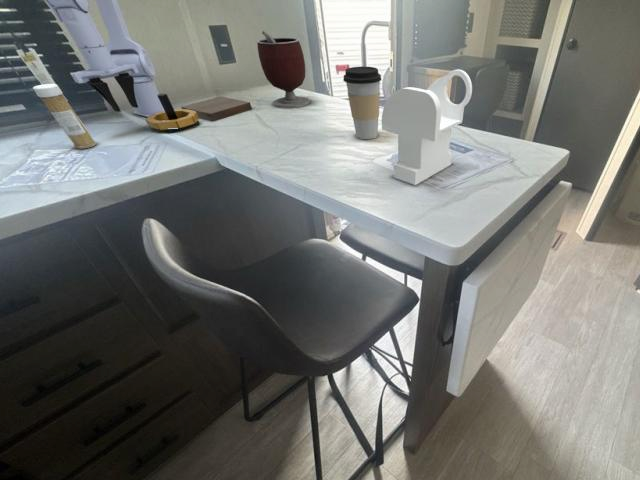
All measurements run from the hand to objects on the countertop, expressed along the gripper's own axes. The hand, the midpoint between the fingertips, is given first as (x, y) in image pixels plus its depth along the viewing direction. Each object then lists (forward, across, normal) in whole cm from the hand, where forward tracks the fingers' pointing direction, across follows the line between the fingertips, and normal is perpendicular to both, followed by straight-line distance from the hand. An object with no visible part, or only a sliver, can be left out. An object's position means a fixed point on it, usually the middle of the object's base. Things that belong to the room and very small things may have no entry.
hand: (126, 109), depth 87 cm
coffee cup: (+6, +30, -60) cm, 67 cm away
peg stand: (+5, +8, -6) cm, 11 cm away
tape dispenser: (+6, +18, -85) cm, 87 cm away
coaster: (+5, +24, -4) cm, 25 cm away
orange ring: (+4, +8, -6) cm, 11 cm away
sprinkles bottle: (+6, -14, -1) cm, 15 cm away
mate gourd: (+6, +43, -18) cm, 47 cm away
